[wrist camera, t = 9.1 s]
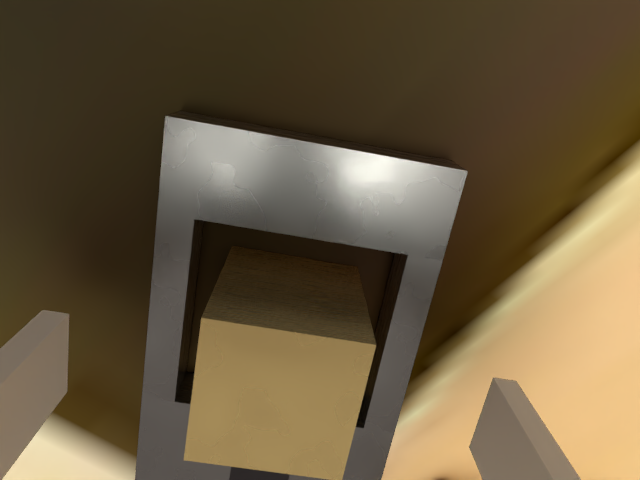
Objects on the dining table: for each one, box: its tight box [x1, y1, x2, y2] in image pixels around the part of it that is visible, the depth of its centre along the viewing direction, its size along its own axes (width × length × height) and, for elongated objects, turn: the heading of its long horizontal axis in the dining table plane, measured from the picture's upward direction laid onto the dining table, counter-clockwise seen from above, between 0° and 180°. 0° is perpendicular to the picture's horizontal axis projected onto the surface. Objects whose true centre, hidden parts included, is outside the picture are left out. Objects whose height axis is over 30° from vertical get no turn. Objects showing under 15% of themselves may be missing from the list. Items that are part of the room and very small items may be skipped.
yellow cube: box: [184, 246, 376, 480], centre depth 18 cm, size 5×5×6 cm
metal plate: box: [135, 111, 468, 480], centre depth 20 cm, size 18×10×2 cm, turn 170°
